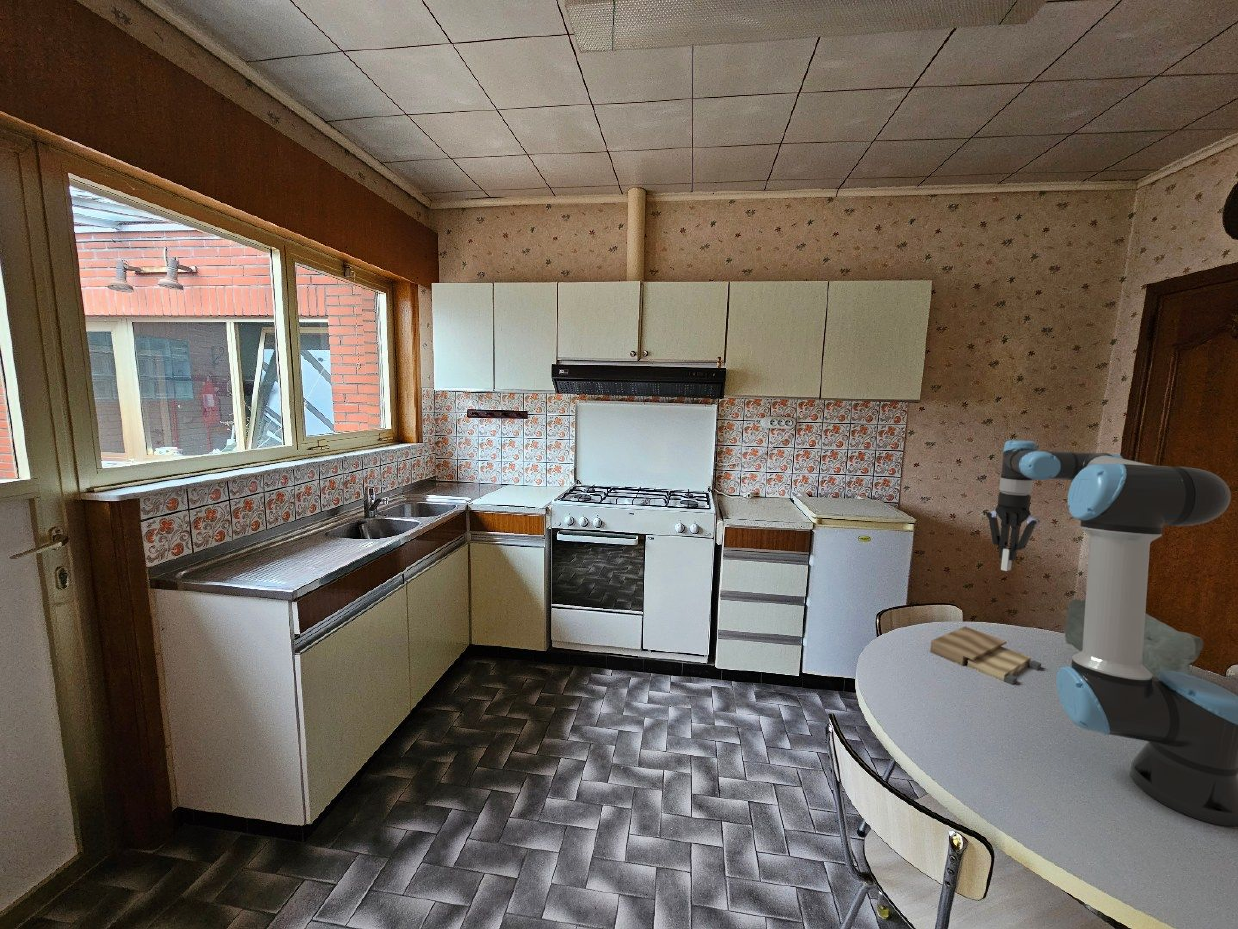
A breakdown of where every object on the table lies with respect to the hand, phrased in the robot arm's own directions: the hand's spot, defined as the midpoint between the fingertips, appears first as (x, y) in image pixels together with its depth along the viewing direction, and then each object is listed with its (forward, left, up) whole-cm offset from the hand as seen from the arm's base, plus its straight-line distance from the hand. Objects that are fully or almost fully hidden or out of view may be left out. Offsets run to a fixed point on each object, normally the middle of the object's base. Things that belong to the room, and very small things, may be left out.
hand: (1005, 569), depth 150 cm
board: (-8, +4, -26) cm, 28 cm away
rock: (+18, -24, -27) cm, 40 cm away
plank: (-8, -3, -28) cm, 30 cm away
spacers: (-8, -10, -26) cm, 29 cm away
